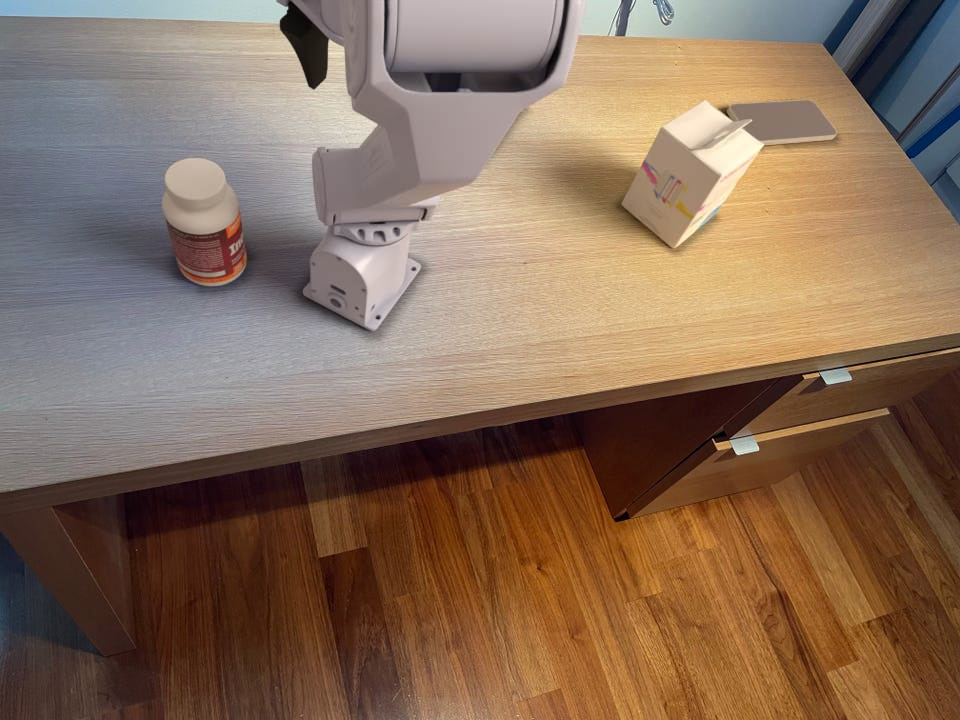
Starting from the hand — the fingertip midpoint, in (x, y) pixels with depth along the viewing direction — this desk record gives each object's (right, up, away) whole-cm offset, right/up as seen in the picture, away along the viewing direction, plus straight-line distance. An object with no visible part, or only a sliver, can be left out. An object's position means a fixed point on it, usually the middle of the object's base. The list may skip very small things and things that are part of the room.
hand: (351, 101), depth 65 cm
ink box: (+34, -7, +16) cm, 38 cm away
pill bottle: (-13, -15, 0) cm, 20 cm away
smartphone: (+53, +8, +29) cm, 61 cm away
